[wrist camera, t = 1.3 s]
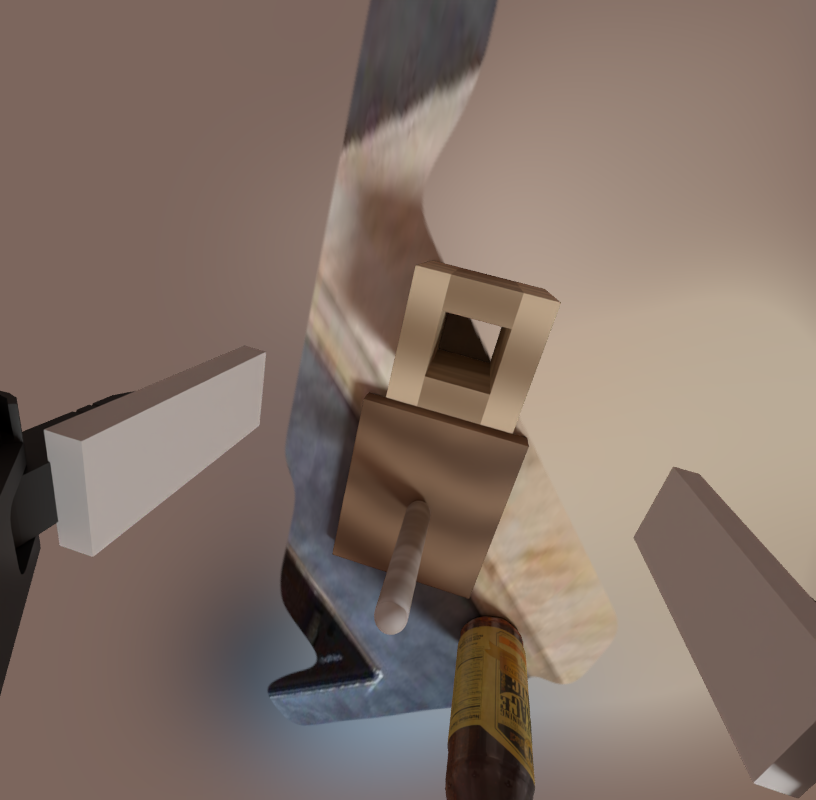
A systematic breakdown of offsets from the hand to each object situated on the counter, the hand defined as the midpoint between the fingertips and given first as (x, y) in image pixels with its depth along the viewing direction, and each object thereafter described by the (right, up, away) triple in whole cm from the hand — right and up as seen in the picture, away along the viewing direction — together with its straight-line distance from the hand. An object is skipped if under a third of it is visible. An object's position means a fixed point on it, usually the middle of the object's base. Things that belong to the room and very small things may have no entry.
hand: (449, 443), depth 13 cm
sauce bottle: (+7, -21, +27) cm, 35 cm away
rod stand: (0, -7, +23) cm, 24 cm away
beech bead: (+3, +6, +17) cm, 18 cm away
